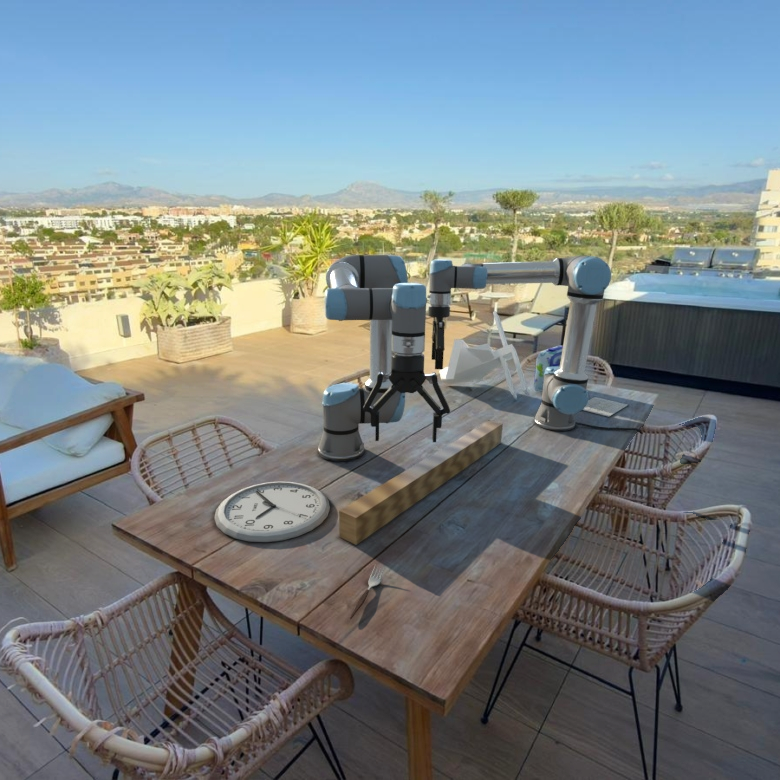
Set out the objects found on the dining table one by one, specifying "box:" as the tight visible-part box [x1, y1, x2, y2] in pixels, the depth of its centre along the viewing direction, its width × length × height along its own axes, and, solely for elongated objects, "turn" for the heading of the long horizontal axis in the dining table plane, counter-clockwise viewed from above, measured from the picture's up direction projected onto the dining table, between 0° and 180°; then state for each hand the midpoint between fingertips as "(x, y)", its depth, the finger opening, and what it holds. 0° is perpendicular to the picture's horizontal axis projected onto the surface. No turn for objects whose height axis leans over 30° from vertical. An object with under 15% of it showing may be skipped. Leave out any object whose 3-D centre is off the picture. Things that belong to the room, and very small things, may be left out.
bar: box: [338, 419, 504, 546], centre depth 156 cm, size 80×5×7 cm, turn 143°
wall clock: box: [213, 481, 331, 543], centre depth 139 cm, size 30×2×30 cm
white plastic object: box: [438, 310, 531, 400], centre depth 245 cm, size 37×45×31 cm
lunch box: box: [533, 345, 563, 393], centre depth 245 cm, size 26×11×21 cm, turn 135°
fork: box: [349, 563, 386, 620], centre depth 108 cm, size 3×16×2 cm, turn 160°
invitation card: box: [582, 396, 629, 418], centre depth 226 cm, size 21×1×15 cm
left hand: (405, 439), depth 125 cm, fingers open, 13 cm apart
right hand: (436, 364), depth 189 cm, fingers open, 13 cm apart
